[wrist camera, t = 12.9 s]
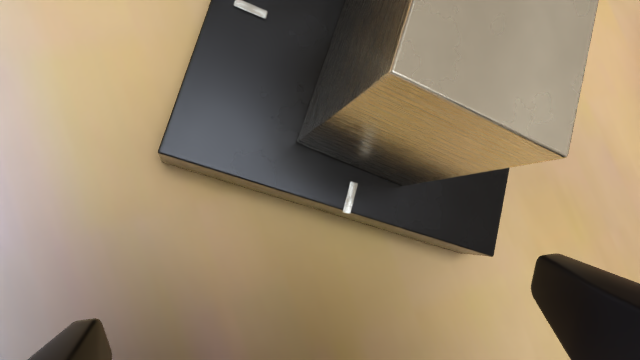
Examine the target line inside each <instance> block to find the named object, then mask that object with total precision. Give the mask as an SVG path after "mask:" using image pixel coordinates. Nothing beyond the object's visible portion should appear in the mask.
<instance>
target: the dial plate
mask: <svg viewBox="0 0 640 360" xmlns="http://www.w3.org/2000/svg"><path fill="white" fill-rule="evenodd" d="M344 3H345V0H211V2H210V5H209V8H208V11H207V14H206V17H205V19H204V22H203V25H202V28H201V31H200V34H199V36H198V39H197V42H196V45H195V48H194V51H193V53H192V56H191V59H190V62H189V65H188V68H187V70H186V73H185V76H184V79H183V82H182V85H181V88H180V90H179V93H178V96H177V99H176V102H175V105H174V107H173V110H172V113H171V116H170V119H169V122H168V124H167V127H166V130H165V133H164V136H163V139H162V141H161V144H160V147H159V150H158V153H159V156H160V158H161V161H162V162H163V163H167V164H170V165H173V166H177V167H180V168H183V169H186V170H190V171H193V172H196V173H200V174H203V175H206V176H209V177H213V178H216V179H219V180H222V181H226V182H229V183H232V184H236V185H239V186H242V187H245V188H249V189H252V190H255V191H259V192H262V193H265V194H268V195H272V196H275V197H278V198H282V199H285V200H288V201H291V202H295V203H298V204H301V205H304V206H308V207H311V208H314V209H318V210H321V211H324V212H327V213H331V214H334V215H337V216H341V217H344V218H347V219H350V220H354V221H357V222H360V223H364V224H367V225H370V226H373V227H377V228H380V229H383V230H386V231H390V232H393V233H396V234H400V235H403V236H406V237H409V238H413V239H416V240H419V241H423V242H426V243H429V244H432V245H436V246H439V247H442V248H446V249H449V250H452V251H455V252H459V253H464V254H473V255H482V256H491V257H492V256H493V255H494V250H495V244H496V239H497V233H498V228H499V222H500V217H501V211H502V206H503V200H504V195H505V189H506V184H507V178H508V172H509V168H504V169H498V170H493V171H487V172H481V173H475V174H470V175H464V176H458V177H452V178H447V179H441V180H435V181H429V182H424V183H418V184H412V185H407V186H403V185H400V184H398V183H395V182H393V181H390V180H388V179H385V178H383V177H380V176H378V175H376V174H373V173H371V172H368V171H366V170H363V169H361V168H358V167H356V166H353V165H351V164H348V163H346V162H343V161H341V160H338V159H336V158H333V157H331V156H329V155H326V154H324V153H321V152H319V151H316V150H314V149H311V148H309V147H306V146H304V145H301V144H299V143H297V139H298V136H299V133H300V130H301V128H302V125H303V122H304V119H305V116H306V113H307V110H308V107H309V104H310V101H311V98H312V96H313V93H314V90H315V87H316V84H317V81H318V78H319V75H320V72H321V69H322V66H323V64H324V61H325V58H326V55H327V52H328V49H329V46H330V43H331V40H332V37H333V35H334V32H335V29H336V26H337V23H338V20H339V17H340V14H341V11H342V8H343V5H344Z"/></svg>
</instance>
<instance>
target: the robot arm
mask: <svg viewBox="0 0 640 360" xmlns="http://www.w3.org/2000/svg"><path fill="white" fill-rule="evenodd" d="M531 291H532V295H533V297H534V299H535V301H536V303H537V304H538V306H539V308H540V309H541V311H542V313H543V314H544V316H545V318H546V319H547V321H548V323H549V324H550V326H551V328H552V329H553V331H554V333H555V334H556V336H557V338H558V339H559V341H560V343H561V344H562V346H563V348H564V349H565V351H566V352H567V354H568V356H569V357H570V359H571V360H640V284H639V283H636V282H634V281H631V280H628V279H626V278H623V277H620V276H618V275H615V274H612V273H610V272H607V271H604V270H602V269H599V268H596V267H593V266H591V265H588V264H585V263H583V262H580V261H577V260H575V259H572V258H569V257H567V256H564V255H561V254H549V255H542V256H540V257H539V258H538V259H537V261H536V265H535V270H534V274H533V279H532V283H531ZM28 360H112V353H111V348H110V345H109V342H108V339H107V337H106V334H105V331H104V328H103V325H102V323H101V321H100V320H99V319H96V318H93V319H86V320H79V321H75V322H73V323H72V324H70V325H69V326H68V327H67V328H66V329H64V330H63V331H62V332H61V333H59V334H58V335H57V336H56V337H55V338H53V339H52V340H51V341H50V342H49V343H47V344H46V345H45V346H44V347H42V348H41V349H40V350H39V351H38V352H36V353H35V354H34V355H33V356H32V357H30V358H29V359H28Z"/></svg>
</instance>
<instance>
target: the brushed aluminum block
mask: <svg viewBox="0 0 640 360" xmlns="http://www.w3.org/2000/svg"><path fill="white" fill-rule="evenodd" d="M598 1H599V0H345V3H344V5H343V8H342V11H341V14H340V17H339V20H338V23H337V26H336V29H335V32H334V35H333V37H332V40H331V43H330V46H329V49H328V52H327V55H326V58H325V61H324V64H323V66H322V69H321V72H320V75H319V78H318V81H317V84H316V87H315V90H314V93H313V96H312V98H311V101H310V104H309V107H308V110H307V113H306V116H305V119H304V122H303V125H302V128H301V130H300V133H299V136H298V139H297V143H299V144H301V145H304V146H306V147H309V148H311V149H314V150H316V151H319V152H321V153H324V154H326V155H329V156H331V157H333V158H336V159H338V160H341V161H343V162H346V163H348V164H351V165H353V166H356V167H358V168H361V169H363V170H366V171H368V172H371V173H373V174H376V175H378V176H380V177H383V178H385V179H388V180H390V181H393V182H395V183H398V184H400V185H403V186H407V185H412V184H418V183H424V182H429V181H435V180H441V179H447V178H452V177H458V176H464V175H470V174H475V173H481V172H487V171H493V170H498V169H504V168H510V167H516V166H521V165H527V164H533V163H539V162H544V161H550V160H556V159H562V158H566V157H567V156H568V152H569V147H570V142H571V137H572V132H573V127H574V122H575V117H576V112H577V107H578V102H579V97H580V92H581V87H582V81H583V76H584V71H585V66H586V61H587V56H588V51H589V46H590V41H591V36H592V31H593V26H594V21H595V16H596V11H597V6H598Z"/></svg>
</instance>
